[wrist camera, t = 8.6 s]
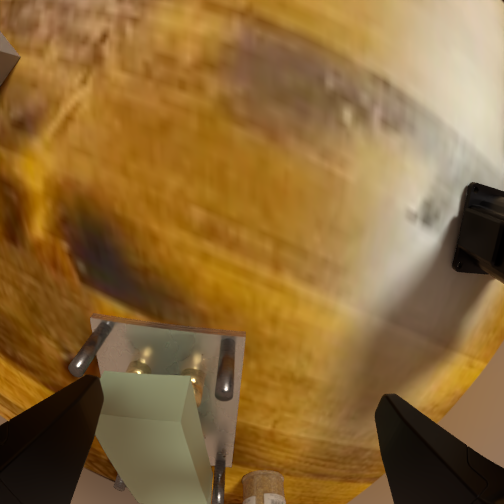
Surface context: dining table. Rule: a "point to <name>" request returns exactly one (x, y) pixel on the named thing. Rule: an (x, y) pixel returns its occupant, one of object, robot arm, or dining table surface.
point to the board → (155, 437)
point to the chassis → (177, 373)
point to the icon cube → (6, 58)
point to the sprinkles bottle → (263, 488)
